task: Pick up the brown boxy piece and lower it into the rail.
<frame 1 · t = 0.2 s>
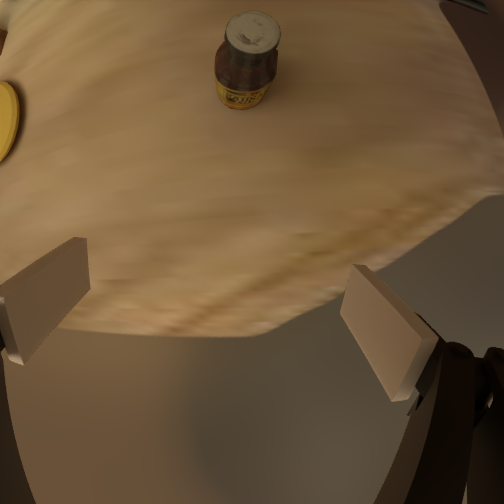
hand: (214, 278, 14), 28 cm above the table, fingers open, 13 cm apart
sauce bottle: (241, 89, 36), on the table
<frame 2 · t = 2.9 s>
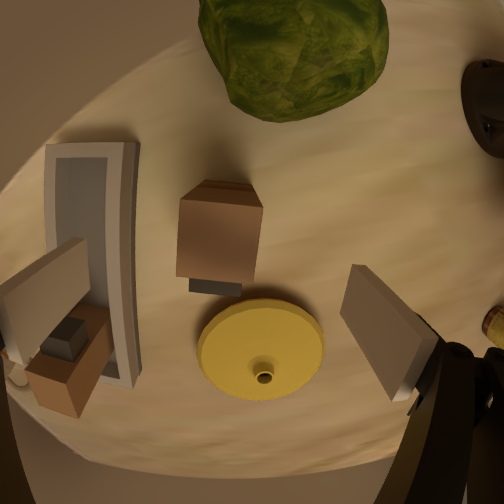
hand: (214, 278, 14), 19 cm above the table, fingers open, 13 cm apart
brown boxy piece: (225, 205, 31), on the table
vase: (260, 341, 38), on the table
mug: (22, 342, 37), on the table
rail: (98, 268, 33), on the table
lettuce: (276, 35, 26), on the table
sauce bottle: (491, 318, 40), on the table
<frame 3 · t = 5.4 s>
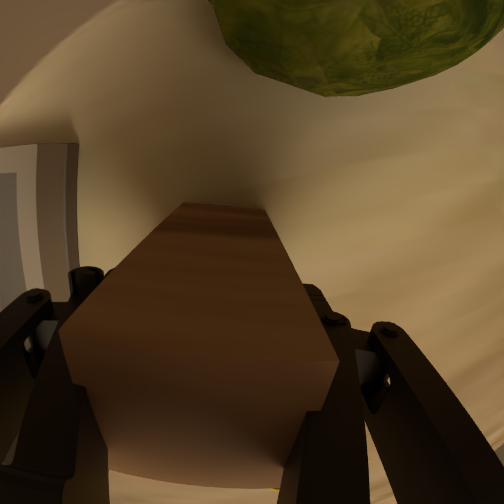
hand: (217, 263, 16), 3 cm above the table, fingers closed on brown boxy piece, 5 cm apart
brown boxy piece: (220, 245, 19), on the table, touching gripper
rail: (42, 329, 20), on the table
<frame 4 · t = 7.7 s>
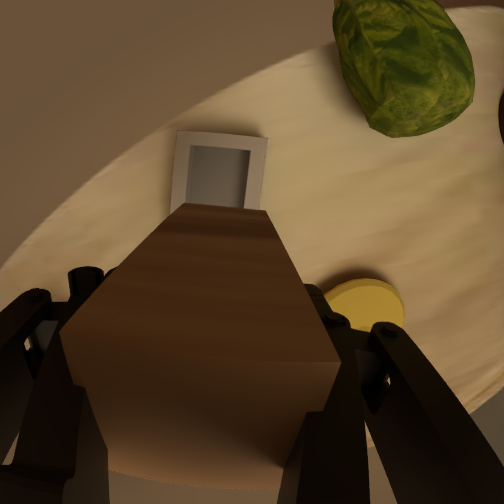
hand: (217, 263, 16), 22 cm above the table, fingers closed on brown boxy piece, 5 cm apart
brown boxy piece: (220, 245, 19), point 18 cm above the table, touching gripper
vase: (350, 318, 42), on the table
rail: (212, 255, 38), on the table
lettuce: (374, 61, 31), on the table
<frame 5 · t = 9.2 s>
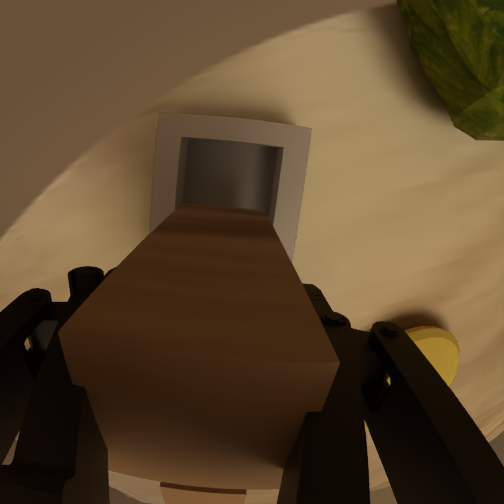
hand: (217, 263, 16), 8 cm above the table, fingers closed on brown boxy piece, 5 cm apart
brown boxy piece: (220, 245, 19), point 5 cm above the table, touching gripper
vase: (393, 370, 30), on the table
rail: (217, 303, 26), on the table
lettuce: (437, 37, 19), on the table
when the fingers open (7 cm above the table, at t = 10.1 s): brown boxy piece drops 2 cm, resting on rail.
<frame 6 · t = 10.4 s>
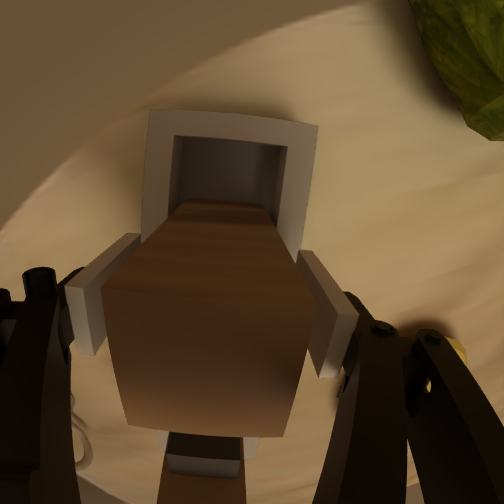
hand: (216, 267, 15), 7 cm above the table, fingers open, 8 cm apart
brown boxy piece: (222, 236, 20), point 2 cm above the table, touching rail
mug: (67, 401, 28), on the table
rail: (215, 314, 24), on the table
lettuce: (446, 32, 17), on the table
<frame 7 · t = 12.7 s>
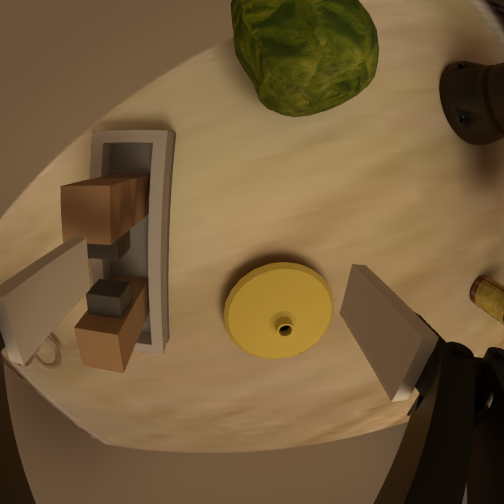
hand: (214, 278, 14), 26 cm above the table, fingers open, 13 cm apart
brown boxy piece: (132, 193, 35), point 1 cm above the table, touching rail
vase: (276, 304, 44), on the table
mug: (48, 322, 42), on the table
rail: (134, 242, 39), on the table
lettuce: (287, 46, 32), on the table
sauce bottle: (478, 287, 47), on the table
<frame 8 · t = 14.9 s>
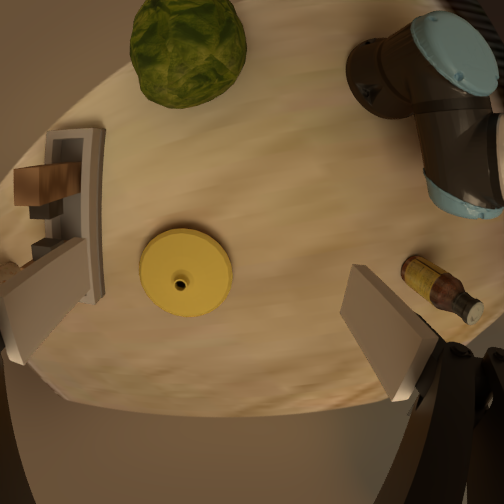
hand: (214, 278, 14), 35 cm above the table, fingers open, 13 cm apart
brown boxy piece: (74, 176, 43), point 1 cm above the table, touching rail
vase: (187, 268, 51), on the table
mug: (20, 282, 50), on the table
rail: (77, 214, 46), on the table
lettuce: (191, 51, 39), on the table
sauce bottle: (412, 268, 53), on the table
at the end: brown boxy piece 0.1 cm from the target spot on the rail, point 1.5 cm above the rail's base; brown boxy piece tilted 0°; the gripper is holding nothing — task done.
